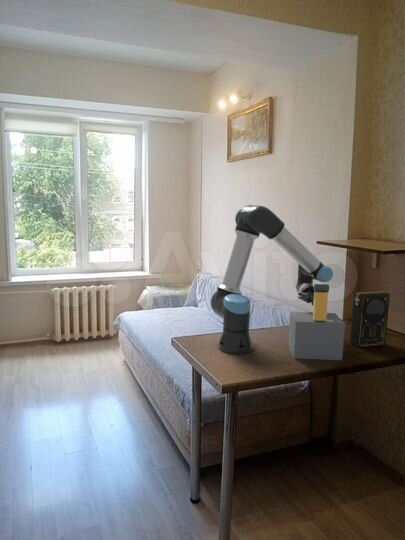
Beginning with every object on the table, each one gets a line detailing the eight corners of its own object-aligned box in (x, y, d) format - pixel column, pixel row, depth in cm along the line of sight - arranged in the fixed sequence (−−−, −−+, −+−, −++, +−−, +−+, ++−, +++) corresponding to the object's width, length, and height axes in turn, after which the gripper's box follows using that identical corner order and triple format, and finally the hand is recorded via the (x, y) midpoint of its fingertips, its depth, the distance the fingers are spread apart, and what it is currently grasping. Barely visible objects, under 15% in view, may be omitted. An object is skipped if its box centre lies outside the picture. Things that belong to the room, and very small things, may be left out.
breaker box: (293, 358, 178) (296, 321, 176) (288, 345, 194) (290, 311, 191) (342, 360, 177) (345, 323, 175) (332, 347, 193) (335, 312, 190)
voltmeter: (358, 348, 191) (362, 295, 187) (347, 342, 200) (351, 290, 196) (387, 346, 196) (392, 293, 191) (375, 340, 204) (379, 289, 200)
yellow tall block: (313, 320, 176) (315, 284, 174) (311, 318, 179) (313, 283, 177) (326, 320, 176) (329, 285, 173) (325, 318, 179) (327, 283, 177)
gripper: (321, 300, 202) (334, 313, 179) (294, 299, 203) (303, 313, 179) (323, 285, 201) (336, 296, 178) (295, 284, 201) (304, 295, 178)
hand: (319, 304), depth 178 cm, fingers closed
